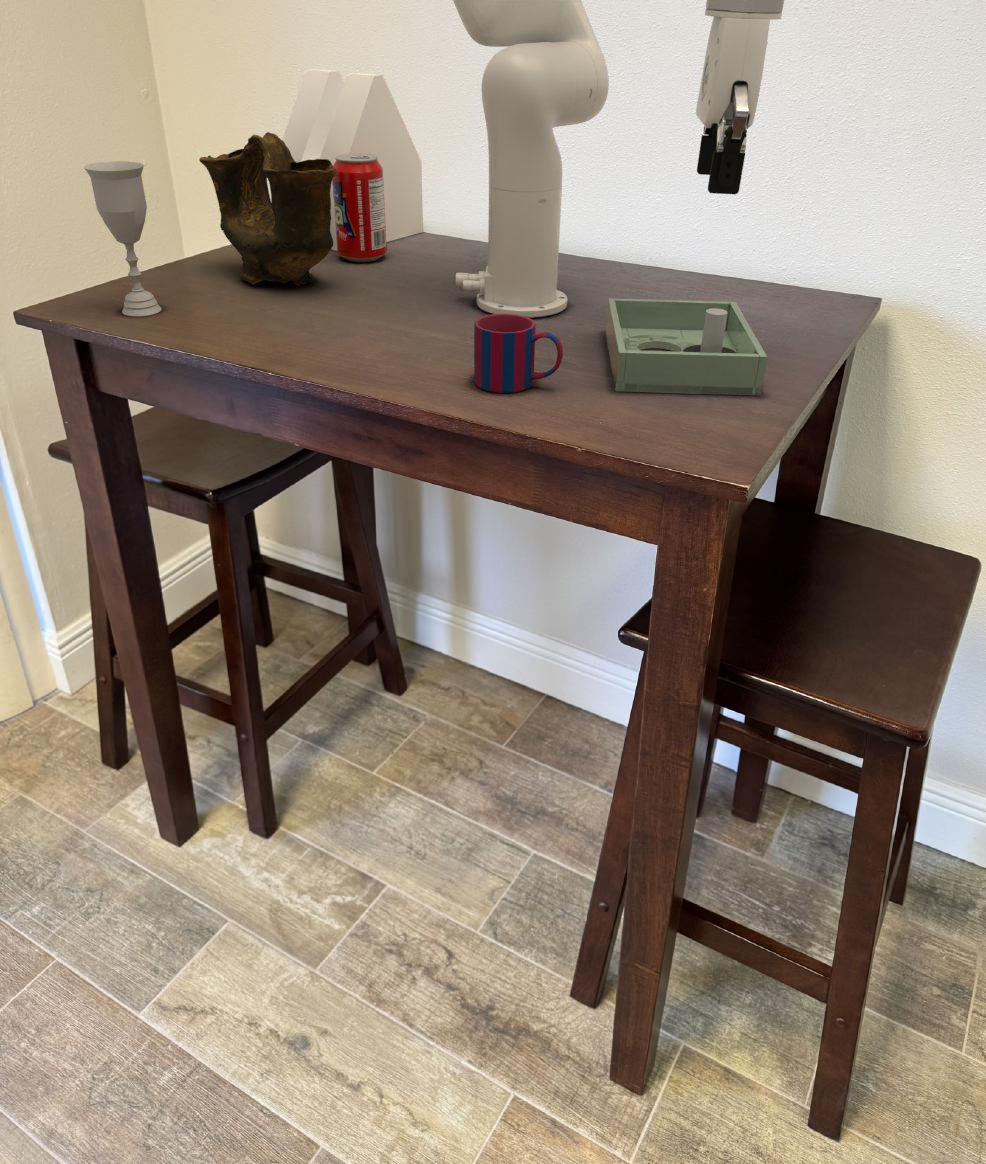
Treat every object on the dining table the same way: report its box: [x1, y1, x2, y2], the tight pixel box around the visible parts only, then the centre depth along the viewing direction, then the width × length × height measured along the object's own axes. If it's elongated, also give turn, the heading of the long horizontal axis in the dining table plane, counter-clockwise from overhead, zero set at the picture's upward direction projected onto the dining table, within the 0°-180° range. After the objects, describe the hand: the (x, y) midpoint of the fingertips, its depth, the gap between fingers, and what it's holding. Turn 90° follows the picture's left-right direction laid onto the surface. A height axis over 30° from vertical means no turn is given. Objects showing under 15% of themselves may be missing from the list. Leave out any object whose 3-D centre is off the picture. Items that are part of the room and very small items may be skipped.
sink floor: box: [605, 328, 762, 396], centre depth 112 cm, size 16×20×1 cm
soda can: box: [332, 154, 388, 263], centre depth 146 cm, size 8×8×15 cm
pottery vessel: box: [199, 131, 337, 287], centre depth 134 cm, size 25×11×20 cm, turn 46°
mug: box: [473, 313, 564, 394], centre depth 103 cm, size 7×10×7 cm
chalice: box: [83, 160, 162, 317], centre depth 121 cm, size 7×7×18 cm
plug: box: [683, 308, 737, 353], centre depth 107 cm, size 6×6×6 cm
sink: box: [605, 297, 768, 397], centre depth 111 cm, size 16×20×4 cm
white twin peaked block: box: [281, 68, 424, 252], centre depth 156 cm, size 19×15×25 cm
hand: (716, 183), depth 103 cm, fingers open, 9 cm apart
